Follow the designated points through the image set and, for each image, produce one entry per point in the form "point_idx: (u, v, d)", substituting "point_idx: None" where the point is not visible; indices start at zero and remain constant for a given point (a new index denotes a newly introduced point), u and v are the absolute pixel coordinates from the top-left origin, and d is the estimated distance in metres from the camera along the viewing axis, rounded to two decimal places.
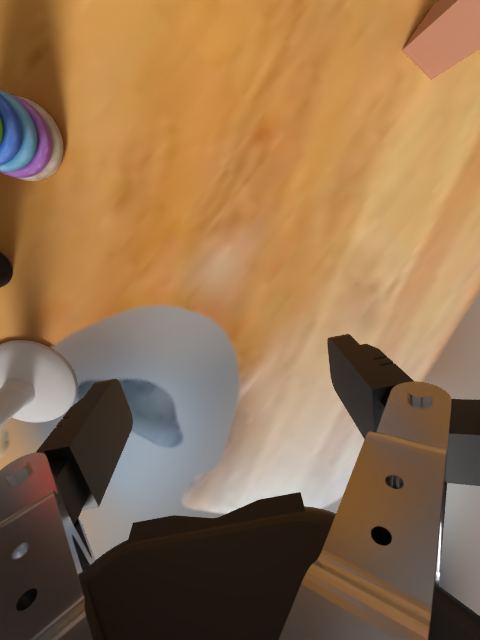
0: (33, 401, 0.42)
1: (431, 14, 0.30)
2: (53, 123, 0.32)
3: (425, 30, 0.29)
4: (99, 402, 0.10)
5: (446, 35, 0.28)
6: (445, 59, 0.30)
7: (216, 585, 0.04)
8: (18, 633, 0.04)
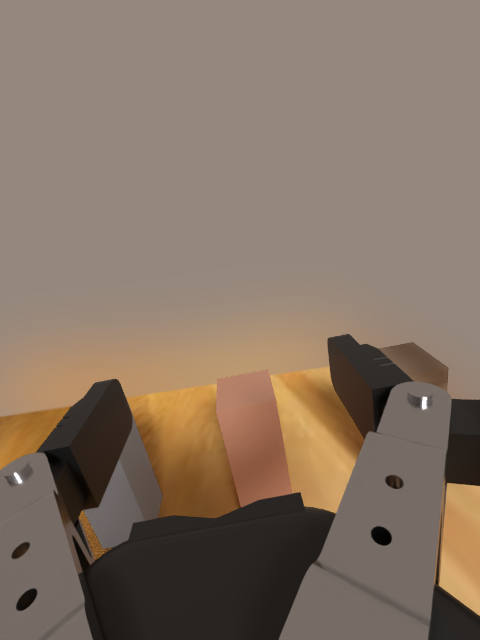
0: None
1: None
2: None
3: (237, 490, 0.26)
4: (99, 402, 0.10)
5: (253, 474, 0.25)
6: (279, 488, 0.26)
7: (216, 585, 0.04)
8: (19, 632, 0.04)
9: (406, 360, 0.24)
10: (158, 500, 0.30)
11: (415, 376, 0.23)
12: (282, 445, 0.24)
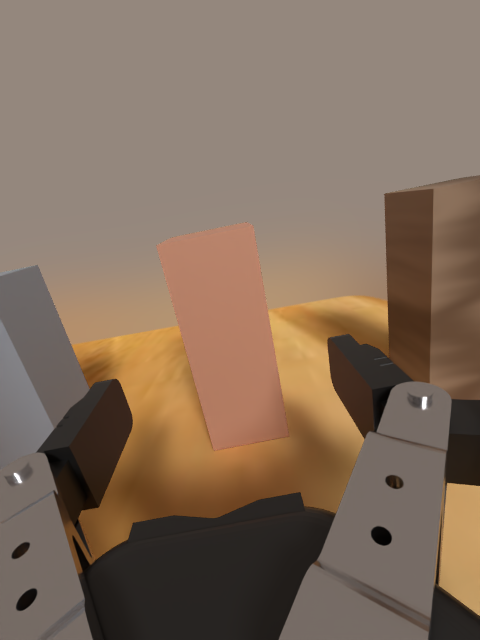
0: None
1: None
2: None
3: (199, 393, 0.17)
4: (99, 402, 0.10)
5: (223, 366, 0.16)
6: (263, 392, 0.17)
7: (216, 585, 0.04)
8: (18, 633, 0.04)
9: (458, 181, 0.16)
10: None
11: (479, 183, 0.14)
12: (266, 314, 0.15)
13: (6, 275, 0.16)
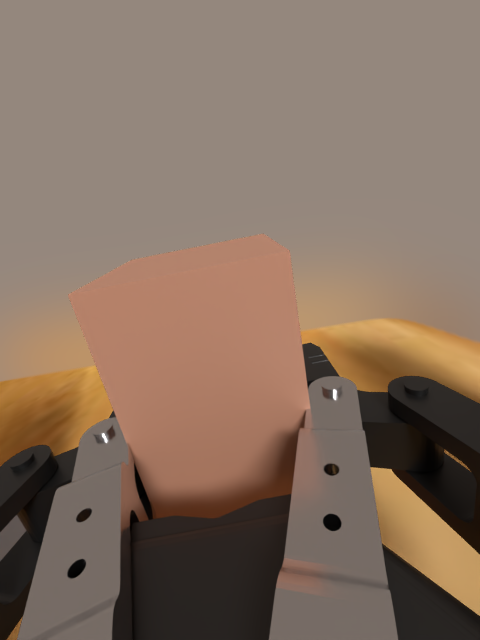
0: None
1: None
2: None
3: None
4: None
5: (220, 516, 0.08)
6: None
7: (216, 585, 0.04)
8: (63, 601, 0.04)
9: None
10: None
11: None
12: None
13: None
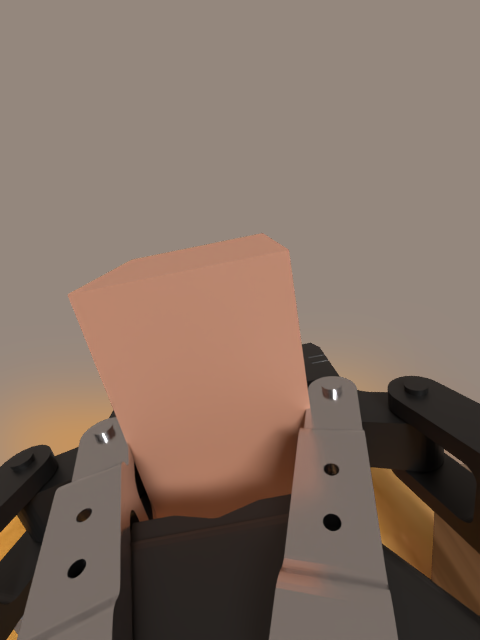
0: None
1: None
2: None
3: None
4: None
5: (220, 516, 0.08)
6: None
7: (216, 585, 0.04)
8: (63, 600, 0.04)
9: None
10: None
11: None
12: None
13: None
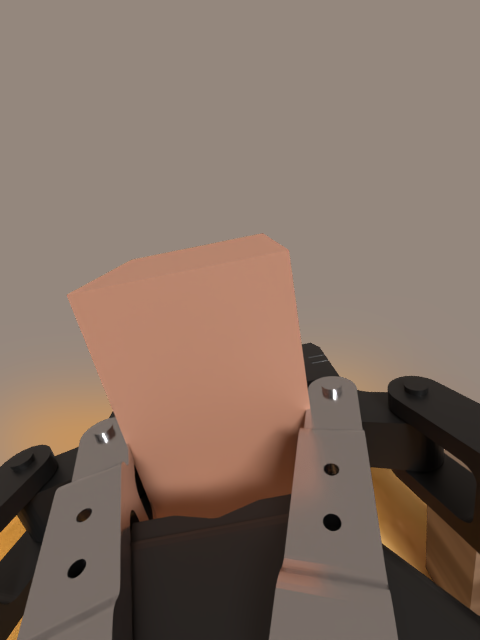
0: None
1: None
2: None
3: None
4: None
5: (220, 516, 0.08)
6: None
7: (216, 585, 0.04)
8: (62, 601, 0.04)
9: None
10: None
11: None
12: None
13: None
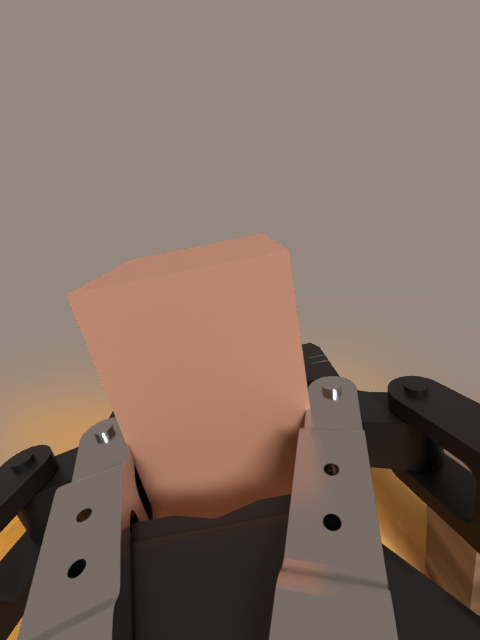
0: None
1: None
2: None
3: None
4: None
5: (220, 516, 0.08)
6: None
7: (216, 585, 0.04)
8: (62, 601, 0.04)
9: None
10: None
11: None
12: None
13: None
